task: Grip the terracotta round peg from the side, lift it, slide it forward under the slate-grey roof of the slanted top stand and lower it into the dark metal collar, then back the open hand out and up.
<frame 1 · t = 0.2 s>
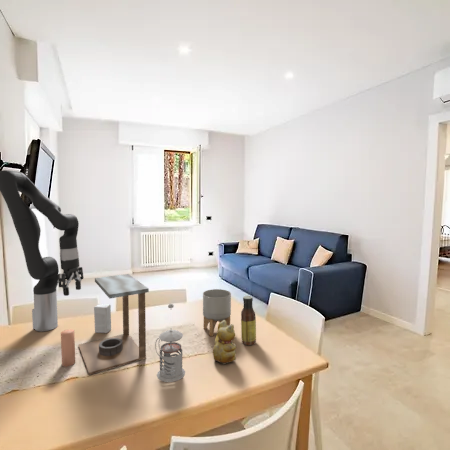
hand: (72, 292, 137), 17 cm above the table, tool pointing down, fingers open, 8 cm apart
slanted top stand: (111, 352, 118), on the table
skincare box: (103, 331, 137), on the table
decorative figurine: (223, 361, 112), on the table
french press: (169, 373, 104), on the table
sauce bottle: (248, 342, 127), on the table
planter: (216, 331, 139), on the table
peg: (68, 363, 110), on the table
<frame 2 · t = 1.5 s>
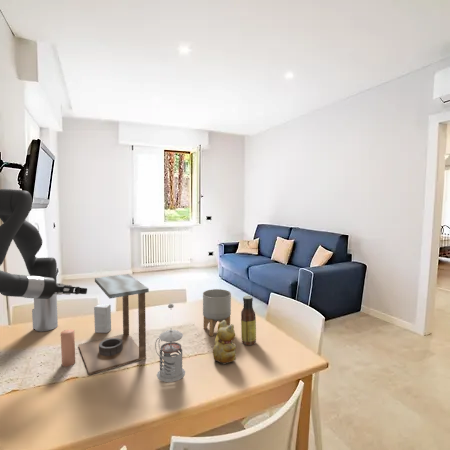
hand: (79, 290, 116), 25 cm above the table, tool tilted 70°, fingers open, 8 cm apart
nothing on the table moved.
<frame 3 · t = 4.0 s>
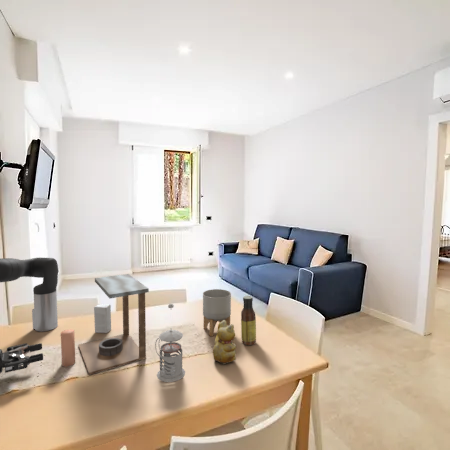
hand: (42, 351, 104), 7 cm above the table, tool horizontal, fingers open, 8 cm apart
nothing on the table moved.
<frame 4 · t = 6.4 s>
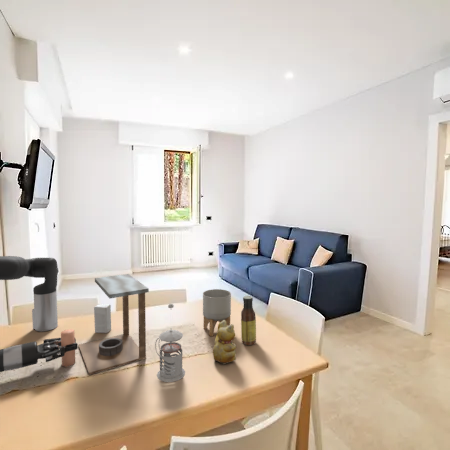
hand: (76, 343, 111), 7 cm above the table, tool horizontal, fingers closed on peg, 4 cm apart
peg: (68, 363, 110), on the table, touching gripper
everything else where it was.
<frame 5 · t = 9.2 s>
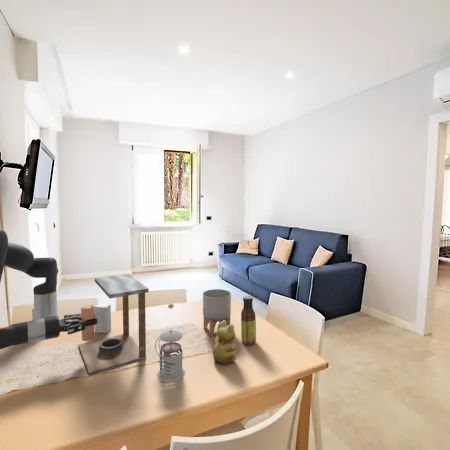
hand: (95, 318, 114), 15 cm above the table, tool horizontal, fingers closed on peg, 4 cm apart
peg: (88, 338, 113), point 8 cm above the table, touching gripper
everything else where it was.
when the fingers open (9 cm above the table, at t = 12.4 s): peg drops 2 cm, resting on slanted top stand.
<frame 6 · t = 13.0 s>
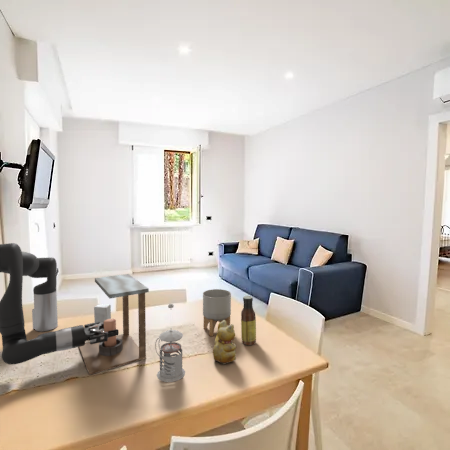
hand: (115, 327, 118), 10 cm above the table, tool horizontal, fingers open, 8 cm apart
peg: (110, 350, 118), point 1 cm above the table, touching slanted top stand
everything else where it was.
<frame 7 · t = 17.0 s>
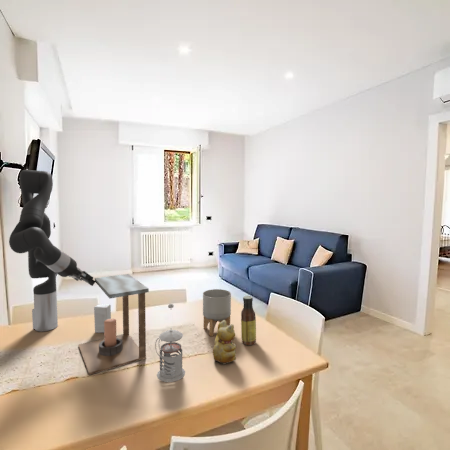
hand: (86, 281, 125), 26 cm above the table, tool tilted 50°, fingers open, 8 cm apart
nothing on the table moved.
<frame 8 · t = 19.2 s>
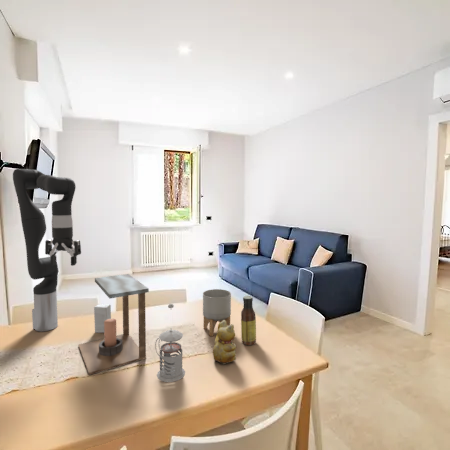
hand: (63, 265, 124), 33 cm above the table, tool pointing down, fingers open, 8 cm apart
nothing on the table moved.
at the end: peg 0.1 cm off-centre on the slanted top stand, point 0.8 cm above the slanted top stand's base; peg tilted 0°; the gripper is holding nothing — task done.
